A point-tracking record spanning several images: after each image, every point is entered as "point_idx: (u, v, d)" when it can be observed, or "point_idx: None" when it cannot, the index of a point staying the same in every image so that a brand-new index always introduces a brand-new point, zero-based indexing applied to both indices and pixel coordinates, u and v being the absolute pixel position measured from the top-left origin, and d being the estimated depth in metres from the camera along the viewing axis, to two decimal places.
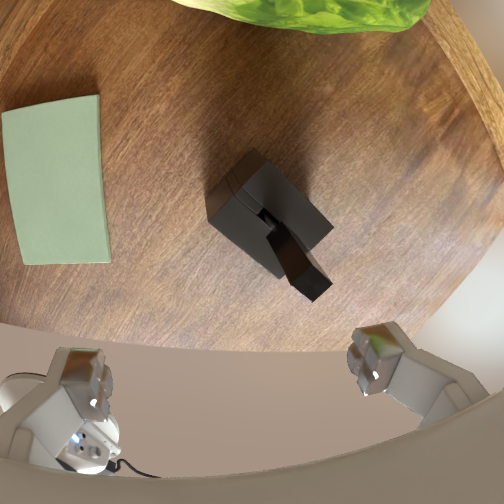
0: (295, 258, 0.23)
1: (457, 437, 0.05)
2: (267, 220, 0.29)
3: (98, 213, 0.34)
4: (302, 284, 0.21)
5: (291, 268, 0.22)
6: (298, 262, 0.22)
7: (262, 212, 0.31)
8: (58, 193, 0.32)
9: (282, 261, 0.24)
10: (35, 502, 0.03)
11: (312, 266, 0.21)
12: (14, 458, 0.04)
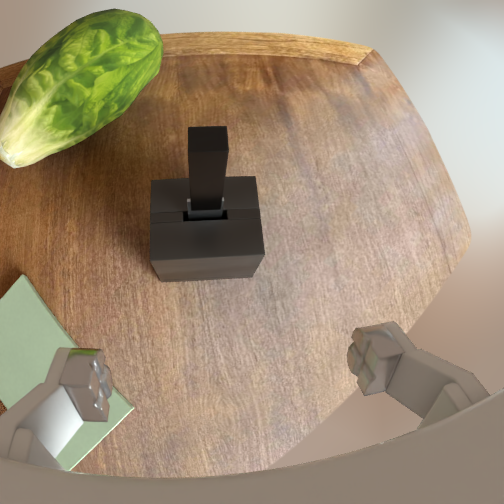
0: None
1: (457, 437, 0.05)
2: None
3: None
4: (197, 144, 0.18)
5: None
6: None
7: None
8: (44, 376, 0.28)
9: (189, 174, 0.21)
10: (35, 502, 0.03)
11: (189, 127, 0.19)
12: (14, 458, 0.04)
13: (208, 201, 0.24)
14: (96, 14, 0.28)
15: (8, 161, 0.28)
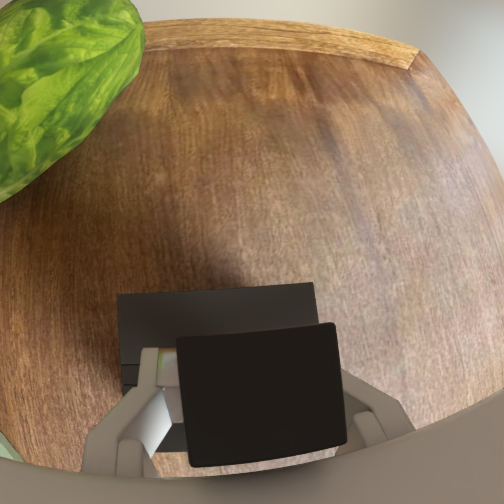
0: None
1: (457, 437, 0.05)
2: None
3: None
4: (226, 433, 0.04)
5: None
6: None
7: None
8: None
9: None
10: (35, 502, 0.03)
11: (182, 342, 0.04)
12: (125, 474, 0.05)
13: None
14: None
15: None
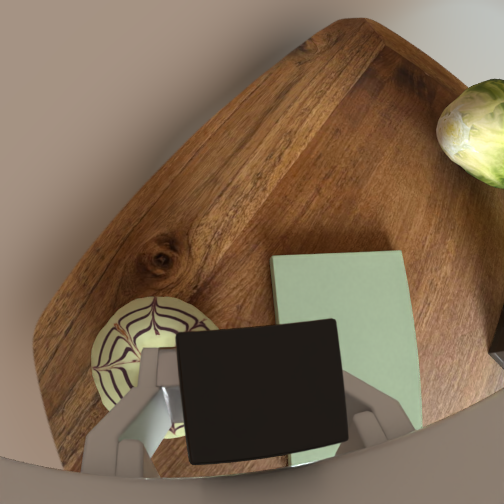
0: None
1: (457, 437, 0.05)
2: None
3: (416, 390, 0.25)
4: (226, 429, 0.04)
5: None
6: None
7: None
8: (369, 372, 0.25)
9: None
10: (35, 502, 0.03)
11: (182, 338, 0.04)
12: (125, 474, 0.05)
13: None
14: None
15: (459, 143, 0.27)
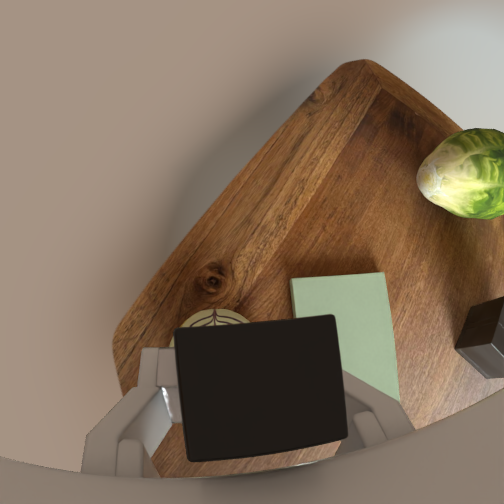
0: None
1: (457, 437, 0.05)
2: None
3: (394, 374, 0.36)
4: (224, 425, 0.04)
5: None
6: None
7: None
8: (359, 360, 0.36)
9: None
10: (35, 502, 0.03)
11: (180, 333, 0.04)
12: (125, 475, 0.05)
13: None
14: None
15: (432, 189, 0.39)
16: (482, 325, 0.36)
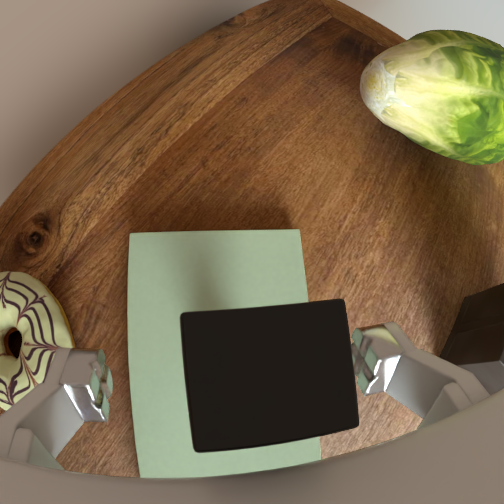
0: None
1: (457, 437, 0.05)
2: None
3: None
4: (232, 414, 0.04)
5: None
6: None
7: None
8: None
9: None
10: (35, 502, 0.03)
11: (187, 318, 0.04)
12: (14, 458, 0.04)
13: None
14: None
15: (383, 97, 0.23)
16: (483, 327, 0.21)
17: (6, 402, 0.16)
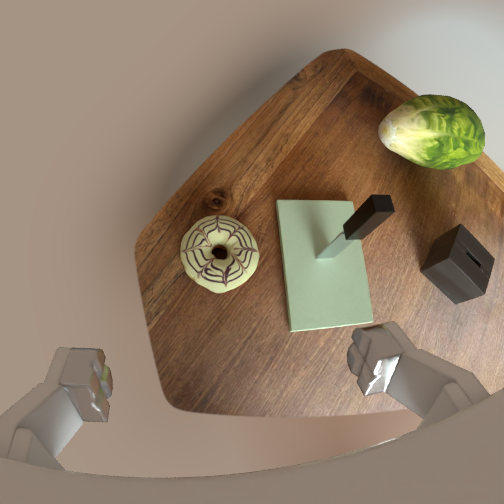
0: (364, 209, 0.33)
1: (457, 437, 0.05)
2: (337, 237, 0.39)
3: (364, 281, 0.47)
4: (379, 207, 0.31)
5: (368, 212, 0.32)
6: (367, 206, 0.32)
7: (331, 243, 0.41)
8: (333, 265, 0.47)
9: (363, 221, 0.33)
10: (35, 502, 0.03)
11: (372, 195, 0.31)
12: (14, 458, 0.04)
13: (360, 235, 0.37)
14: (468, 107, 0.48)
15: (390, 138, 0.50)
16: (442, 248, 0.48)
17: (220, 282, 0.42)
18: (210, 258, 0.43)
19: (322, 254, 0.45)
